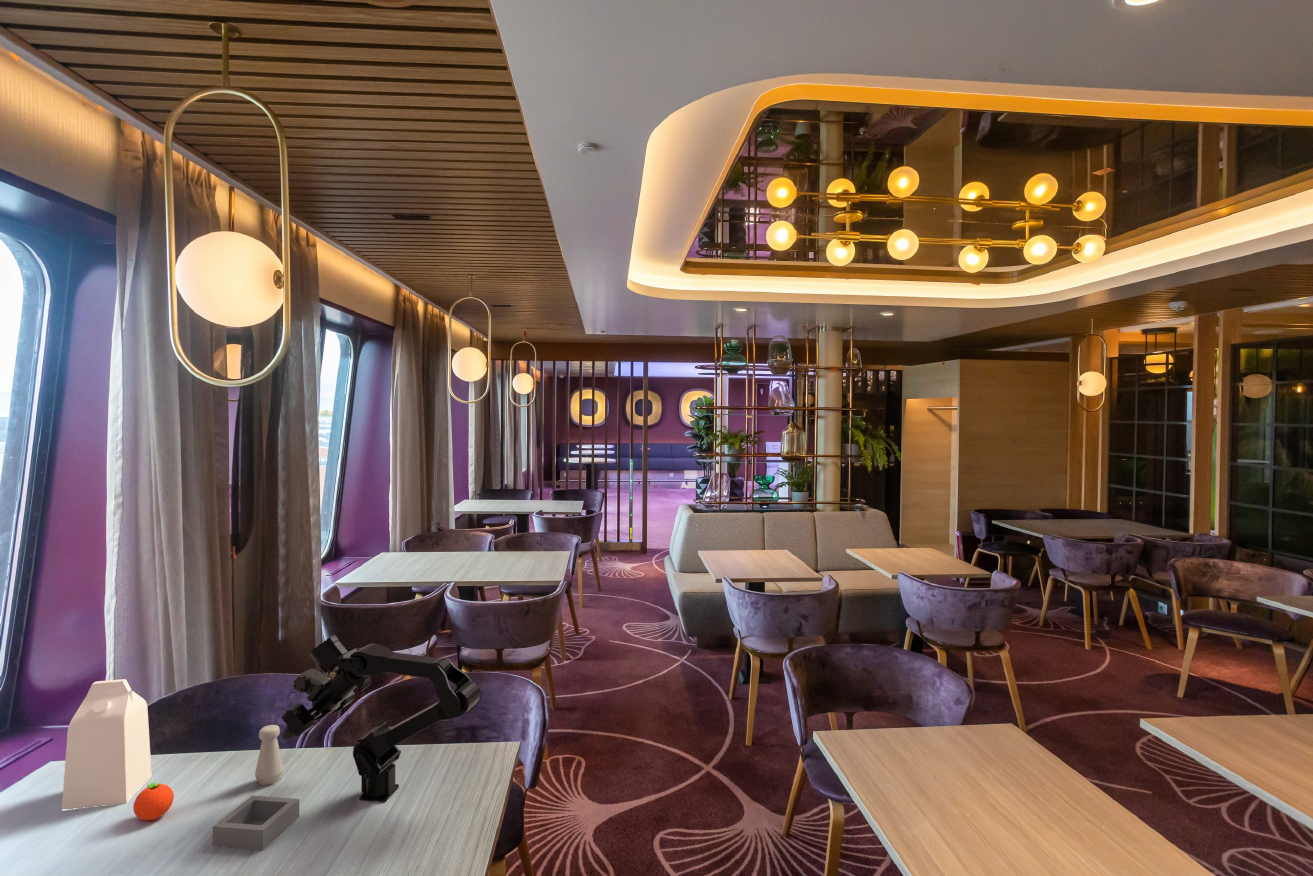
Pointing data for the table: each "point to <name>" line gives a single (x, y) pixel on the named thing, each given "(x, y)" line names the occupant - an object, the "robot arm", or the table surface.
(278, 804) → the well block
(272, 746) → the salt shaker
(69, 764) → the milk
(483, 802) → the table surface
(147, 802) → the clementine
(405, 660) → the robot arm
